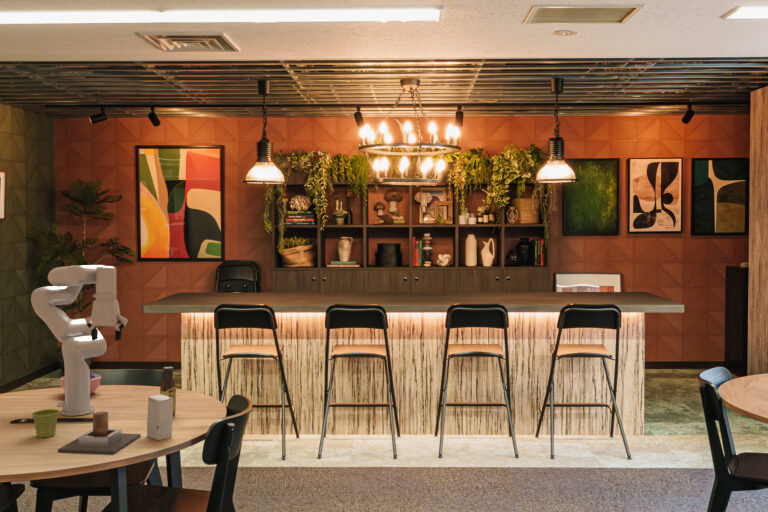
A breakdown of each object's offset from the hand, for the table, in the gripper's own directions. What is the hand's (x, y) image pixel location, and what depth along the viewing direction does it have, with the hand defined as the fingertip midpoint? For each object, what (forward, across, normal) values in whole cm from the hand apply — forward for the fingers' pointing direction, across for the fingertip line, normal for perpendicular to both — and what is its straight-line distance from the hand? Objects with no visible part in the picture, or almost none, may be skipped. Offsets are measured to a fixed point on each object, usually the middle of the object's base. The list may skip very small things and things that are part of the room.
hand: (106, 340), depth 271 cm
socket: (+32, +13, -29) cm, 45 cm away
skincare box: (+32, +30, -18) cm, 48 cm away
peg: (+31, +13, -29) cm, 45 cm away
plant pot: (+32, -12, -22) cm, 41 cm away
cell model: (+33, -33, +39) cm, 61 cm away
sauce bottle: (+32, +21, +10) cm, 40 cm away
